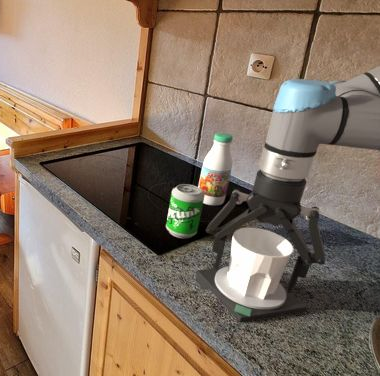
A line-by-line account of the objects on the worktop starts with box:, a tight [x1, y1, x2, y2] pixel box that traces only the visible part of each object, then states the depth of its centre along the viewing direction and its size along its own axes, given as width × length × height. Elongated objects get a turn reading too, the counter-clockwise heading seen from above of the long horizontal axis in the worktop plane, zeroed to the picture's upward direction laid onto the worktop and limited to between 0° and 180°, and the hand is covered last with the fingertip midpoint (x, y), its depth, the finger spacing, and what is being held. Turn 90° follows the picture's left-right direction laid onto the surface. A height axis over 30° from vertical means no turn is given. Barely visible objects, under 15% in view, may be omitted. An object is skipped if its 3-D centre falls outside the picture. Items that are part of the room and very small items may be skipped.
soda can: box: [165, 183, 205, 239], centre depth 99 cm, size 8×8×12 cm
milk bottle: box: [197, 132, 233, 206], centre depth 115 cm, size 8×8×20 cm
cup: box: [227, 227, 294, 299], centre depth 76 cm, size 10×10×10 cm
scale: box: [195, 265, 308, 323], centre depth 79 cm, size 14×14×3 cm
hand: (252, 277), depth 78 cm, fingers open, 12 cm apart
